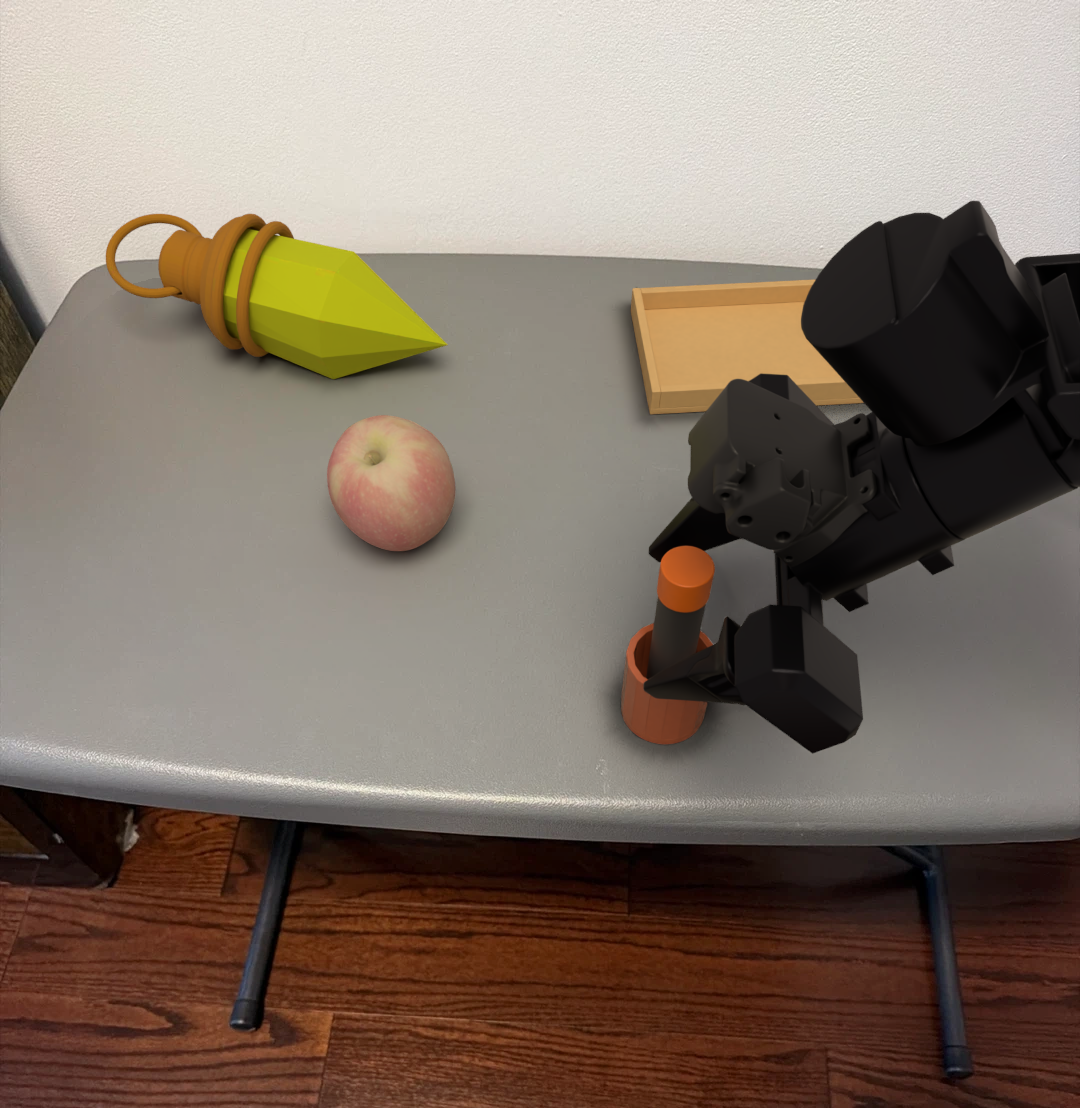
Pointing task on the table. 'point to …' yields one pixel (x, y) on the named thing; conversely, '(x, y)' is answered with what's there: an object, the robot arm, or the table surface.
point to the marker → (679, 606)
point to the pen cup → (651, 714)
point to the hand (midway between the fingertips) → (651, 620)
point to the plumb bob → (283, 295)
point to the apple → (391, 482)
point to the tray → (726, 343)
